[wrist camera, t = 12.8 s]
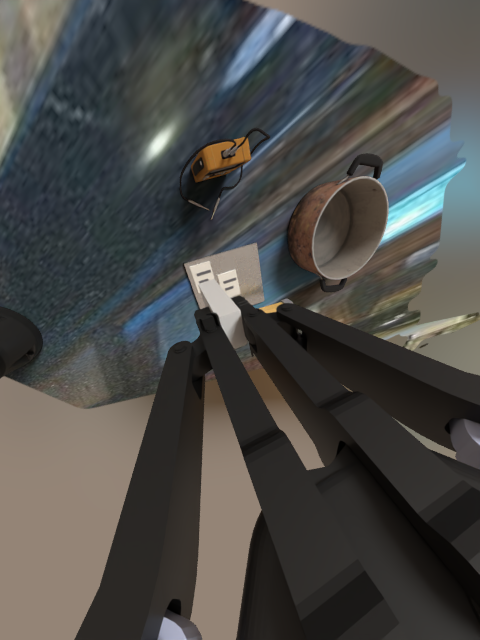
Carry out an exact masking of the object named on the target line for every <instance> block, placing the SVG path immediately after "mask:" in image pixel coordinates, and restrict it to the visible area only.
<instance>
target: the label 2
mask: <svg viewBox="0 0 480 640" xmlns="http://www.w3.org/2000/svg"><path fill="white" fill-rule="evenodd" d="M217 276H218V280H219V283H220V286H221V288H222V289H223V290H224V291H225V292H226V294H227V295H228V296H229V297H233V296H236V295H239V294H241V293H240V288H239V283H238V278H237V274H236V270H232V271H229V272H226V273H223V274H219V275H217Z"/></svg>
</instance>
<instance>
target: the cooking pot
mask: <svg viewBox="0 0 480 640" xmlns="http://www.w3.org/2000/svg"><path fill="white" fill-rule="evenodd" d="M358 165H365V166H370V167H375V169H374V175H373V178H372V177H369V176H361V177H355V178H350V179H347V178H348V177H349V175H350V176H351V175H353V173H354V171H355V170H356V168H357V166H358ZM382 166H383V161H382V159H381V158H380V157H379V156H377V155H374V154H361V155H359V156H357V157H356V158H355V160H354V161H353V163H352V164H351V166H350V168H349V170H348V171H347V174H348V175H347V176H346V178H345V179H343V180H339V181H333V182H328V183H325V184H321V185H318V186H317V187H315V188H313V189H312V190H310V191H309V192H308V193H307V194H306V195H305V196H304V197H303V198H302V199H301V201H300V202H299V204H298V205H297V207H296V209H295V211H294V213H293V215H292V218H291V221H290V224H289V229H288V247H289V252H290V254H291V257H292V259H293V260H294V262H295V263H296V264H297V265H298V266H300V267H301V268H303V269H305V270H307V271H310V272H313V273H315V274H316V275H318V276H320V277H321V280H320V286H321V289H322V291H324V292H336V291H339V290H341V289H342V288H343V287H344V285H345V283H346V281H347V278H346V277H349V276H351V275H353V274H354V273H356V272H357V271H358V270H360V269H361V268H362V267H363V266H364V265H365V264H366V263H367V262H368V261H369V259H370V258H371V257H372V255H373V254H374V252H375V251H376V249H377V248H378V246H379V244H380V242H381V240H382V237H383V234H384V232H385V228H386V224H387V220H388V198H387V194H386V191H385V189H384V187H383V186H382V184H381V183H380V182H379V181H377V179H378V178H380V175H381V171H382ZM322 276H323V277H326V278H329V279H332V280H339V279H342V280H341V282H340V284H339V285H331V286H326V284H325V280H324V279H323V278H322Z"/></svg>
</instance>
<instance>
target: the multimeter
mask: <svg viewBox="0 0 480 640" xmlns="http://www.w3.org/2000/svg"><path fill="white" fill-rule="evenodd" d="M253 131H259V132H261V133H262V134H263V135H265V136H266V138H264V139H262V140H261V141H260V142H259V143H258V144H257V145H256V146H255V147H254V149H253V150H252V151H251V153H250V149H249V143H248V136H249V135H250V134H251V133H252V132H253ZM269 138H270V136H269V135H268V134H266V133H265V132H264V131H263V130H261V129H259V128H254V129H252V130H250V131H249V132H248V134H247V135H246V137H244V138H240V139H236V140H232V139H220V140H216V141H212V142H210V143H207V144H206V145H204V146H202V147H201V148H200V149H198V150H197V151H196V152H195V153H194V154H193V155H192V156H191V157H190V159H189V160H188V161H187V163H186V164H185V166H184V168H183V170H182V172H181V175H180V192H181V195H182V191H181V178H182V175H183V173H184V171H185V169H186V167H187V165H188V164H189V162H190V161H191V160H192V159H193V158H194V157H195V156H196V154H198V153H199V154H198V155H197V157H196V159H195V160H194V162H193V164H192V165H191V169H192V172H193V175H194V179H195V182H200V181H203V180H207V179H211V178H214V177H218V176H222V175H225V174H228V173H230V172H231V171H233V170H235V169H237V168H238V167H240V166H241V176H240V179H239V181H238V182H237V183H236V184H235V185H234V186H233V187H235V186H236V185H237V184H238V183H239V182H240V180H241V177H242V169H243V164H245V163H247V162H248V161H250V160H251V154H252V153H253V151H254V150H255V149H256V148H257V146H258V145H259V144H261V143H262V142H263V141H265V140H267V139H269ZM219 142H223V143H219ZM215 143H219V144H215ZM212 144H215V145H212ZM210 145H211V146H210ZM233 187H223V188H222V190H223V189H224V188H233ZM222 190H221V192H220V195H219V198H218V199H217V202H216V205H215V208H214V212H215V211H216V209H217V206H218V203H219V200H220V196H221V193H222ZM182 197H183V198H184V199H185V200H187V201H189V202H190V203H192V204H194V205H197V206H199V207H200V208H201V207H203V206H201V205H200V204H198V203H196V202H194V201H192V200H188V199H186V198H185V197H184V196H183V195H182ZM203 208H205V207H203ZM205 209H207V208H205ZM207 210H209V209H207ZM214 212H213V215H214ZM213 215H212V218H213ZM212 218H211V220H212Z"/></svg>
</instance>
